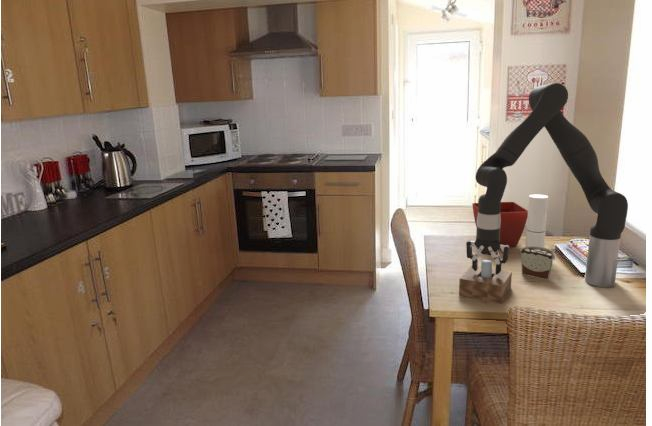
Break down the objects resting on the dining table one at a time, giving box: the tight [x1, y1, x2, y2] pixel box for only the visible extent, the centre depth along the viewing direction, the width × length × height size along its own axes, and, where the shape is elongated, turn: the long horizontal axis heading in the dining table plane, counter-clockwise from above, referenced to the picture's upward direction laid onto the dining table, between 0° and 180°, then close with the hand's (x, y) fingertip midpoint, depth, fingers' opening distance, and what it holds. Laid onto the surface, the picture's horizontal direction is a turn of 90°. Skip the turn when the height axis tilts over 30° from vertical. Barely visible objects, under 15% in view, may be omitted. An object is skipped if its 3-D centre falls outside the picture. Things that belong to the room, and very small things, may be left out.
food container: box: [519, 246, 556, 281], centre depth 176 cm, size 12×6×10 cm, turn 47°
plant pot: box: [472, 201, 528, 248], centre depth 212 cm, size 19×19×17 cm
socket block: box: [458, 264, 513, 304], centre depth 164 cm, size 14×14×6 cm
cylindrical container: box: [524, 193, 549, 248], centre depth 194 cm, size 7×7×25 cm
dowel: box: [480, 259, 493, 279], centre depth 163 cm, size 3×3×10 cm
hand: (486, 271), depth 163 cm, fingers open, 6 cm apart
